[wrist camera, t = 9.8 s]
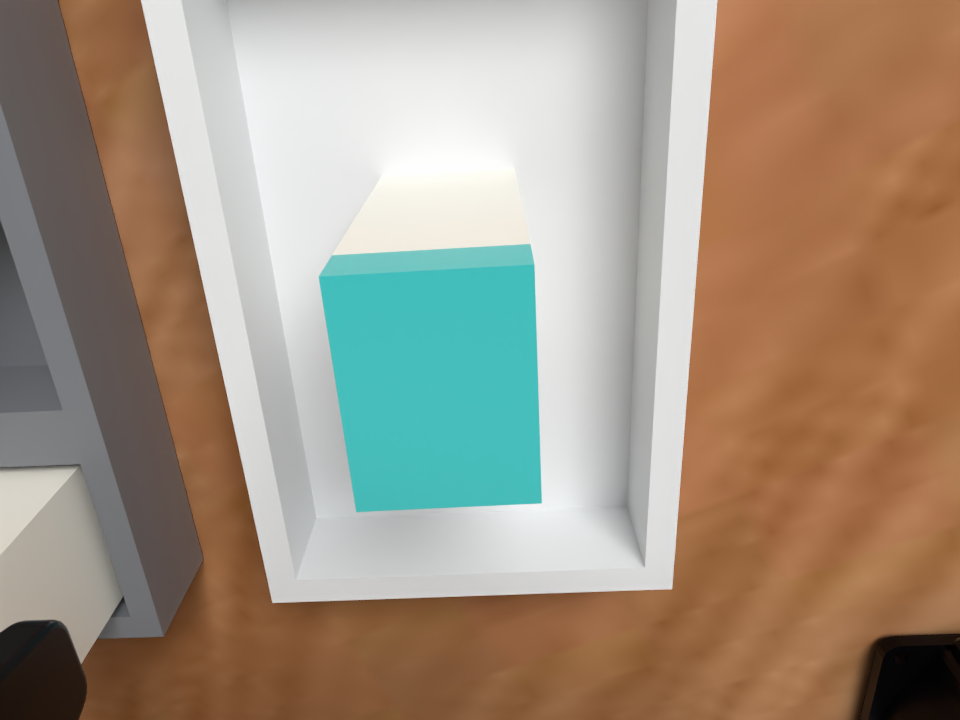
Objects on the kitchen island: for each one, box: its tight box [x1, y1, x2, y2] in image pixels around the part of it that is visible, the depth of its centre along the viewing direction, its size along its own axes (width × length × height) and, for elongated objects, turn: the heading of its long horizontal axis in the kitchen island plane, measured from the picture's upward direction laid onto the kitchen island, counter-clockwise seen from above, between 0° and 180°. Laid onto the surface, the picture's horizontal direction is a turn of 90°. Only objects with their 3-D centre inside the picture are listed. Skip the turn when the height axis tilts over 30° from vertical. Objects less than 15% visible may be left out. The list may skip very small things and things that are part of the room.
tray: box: [141, 0, 717, 603], centre depth 17 cm, size 16×10×3 cm, turn 3°
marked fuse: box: [319, 168, 542, 512], centre depth 14 cm, size 4×3×7 cm
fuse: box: [0, 464, 123, 664], centre depth 17 cm, size 4×3×7 cm
